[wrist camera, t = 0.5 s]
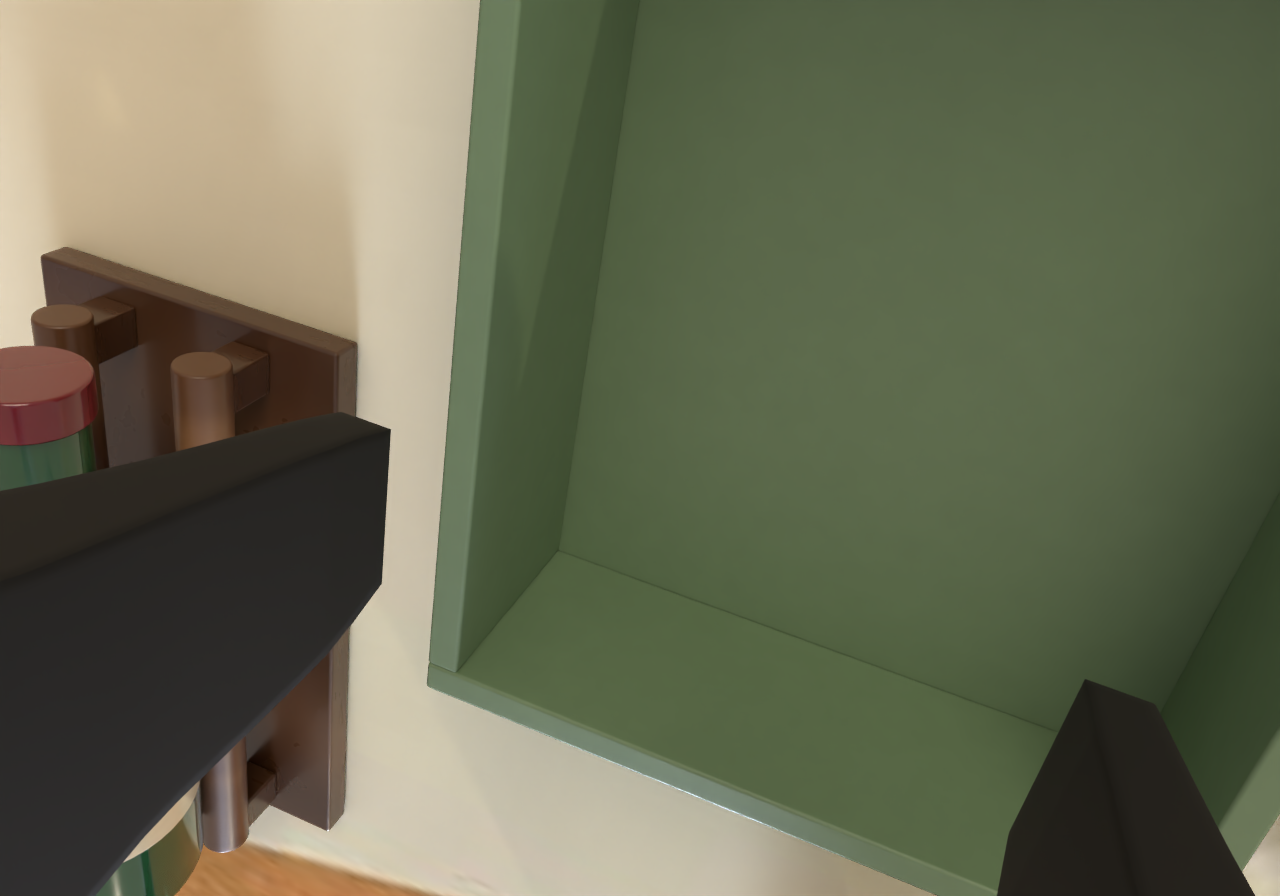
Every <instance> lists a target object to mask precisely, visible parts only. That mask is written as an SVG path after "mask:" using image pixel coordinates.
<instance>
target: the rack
mask: <svg viewBox="0 0 1280 896" xmlns="http://www.w3.org/2000/svg"><path fill="white" fill-rule="evenodd" d="M41 265H42V273H43V281H44V289H45V296H46V304H47V307H43V308H40V309H38V310H36V311H35V312H34V313H33V314H32V316H31V325H32V332H33V339H34V346H45V347H54V348H60V349H64V350H68V351H71V352H74V353H76V354H79V355H81V356H82V357H84V358H85V359H87V360H88V361H89V362H90V363H91V365H92V366H93V368H94V371H95V379H96V389H97V398H98V413H97V415H96V417H95V419H94V420H93V422H92V431H93V440H94V449H95V458H96V467H97V470H101V469H106V468H110V467H115V466H119V465H124V464H128V463H132V462H137V461H141V460H145V459H149V458H153V457H157V456H161V455H165V454H169V453H173V452H177V451H180V450H184V449H188V448H192V447H196V446H200V445H203V444H207V443H211V442H215V441H219V440H223V439H227V438H230V437H234V436H238V435H242V434H246V433H249V432H253V431H257V430H261V429H265V428H269V427H273V426H276V425H281V424H285V423H289V422H293V421H297V420H301V419H306V418H310V417H315V416H320V415H325V414H331V413H337V412H343V413H346V414H349V415H352V416H355V404H356V369H357V344H356V343H355V342H353V341H350V340H347V339H344V338H341V337H338V336H335V335H332V334H329V333H326V332H323V331H320V330H317V329H314V328H311V327H308V326H305V325H302V324H299V323H296V322H293V321H290V320H287V319H284V318H281V317H278V316H275V315H271V314H268V313H265V312H262V311H259V310H256V309H253V308H250V307H247V306H244V305H241V304H238V303H235V302H232V301H229V300H226V299H223V298H220V297H217V296H214V295H211V294H208V293H205V292H202V291H199V290H196V289H193V288H190V287H187V286H184V285H181V284H178V283H175V282H172V281H169V280H166V279H163V278H159V277H156V276H153V275H150V274H147V273H144V272H141V271H138V270H135V269H132V268H129V267H126V266H123V265H120V264H117V263H114V262H111V261H108V260H105V259H102V258H99V257H96V256H93V255H90V254H87V253H84V252H81V251H78V250H75V249H72V248H69V247H64V248H61V249H58V250H55V251H52V252H49V253H46V254H43V255H42V256H41ZM348 649H349V628H348V629H347V630H346V632H345V633H344V634H343V635H342V637H341V638H340V639H339V640H338V642H337V643H336V644H335V645H334V647H333V648H332V649H331V650H330V652H329V653H328V654H327V655H326V656H325V657H324V658H323V659H322V660H321V661H320V662H319V663H318V664H317V665H316V666H315V667H314V669H313V670H312V671H311V672H310V673H309V674H308V675H307V676H306V677H305V678H304V679H303V680H302V681H301V682H300V683H298V684H297V685H296V686H295V687H294V688H293V689H292V690H291V691H290V692H289V693H288V694H287V695H286V696H285V697H284V698H283V699H282V700H281V701H280V702H279V703H278V704H277V705H276V706H275V707H274V708H273V709H272V710H271V711H270V712H269V713H268V714H267V715H266V716H265V717H264V718H263V719H262V720H261V721H260V722H259V723H258V724H257V725H256V726H255V727H254V728H253V729H252V730H251V731H250V732H249V733H248V734H247V735H246V736H245V737H244V738H243V739H241V740H240V741H239V742H238V743H237V744H236V745H235V746H234V747H233V748H232V749H231V750H230V751H229V752H228V753H227V754H226V755H225V756H224V757H223V758H222V759H221V760H220V761H219V762H218V763H217V764H216V765H215V766H214V767H213V768H212V769H211V770H210V771H209V772H208V773H207V774H206V775H205V776H204V777H202V778H201V779H200V780H201V795H202V811H203V826H204V840H203V843H204V845H205V846H206V847H207V848H208V849H210V850H212V851H215V852H229V851H232V850H235V849H237V848H238V847H240V846H241V845H242V844H243V843H244V842H245V841H246V839H247V837H248V835H249V827H250V825H251V824H252V823H253V822H254V821H255V820H256V819H257V818H258V817H259V816H260V815H261V813H262V812H263V811H264V810H265V809H266V808H267V807H268V806H269V805H271V806H273V807H276V808H278V809H280V810H282V811H284V812H287V813H289V814H291V815H293V816H295V817H298V818H300V819H302V820H304V821H306V822H308V823H311V824H313V825H315V826H317V827H319V828H322V829H324V830H326V831H329V830H330V829H331V828H332V827H333V825H334V824H335V823H336V822H337V821H338V819H339V818H340V817H341V816H342V814H343V813H344V789H345V754H346V719H347V684H348Z"/></svg>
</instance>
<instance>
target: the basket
mask: <svg viewBox="0 0 1280 896" xmlns="http://www.w3.org/2000/svg"><path fill="white" fill-rule="evenodd" d="M429 661H430V663H429V666H428V678H427V686H428V687H430V688H432V689H435V690H437V691H439V692H442V693H444V694H447V695H449V696H452V697H454V698H456V699H459V700H461V701H464V702H466V703H469V704H471V705H474V706H476V707H478V708H481V709H483V710H486V711H488V712H491V713H493V714H496V715H498V716H500V717H503V718H505V719H508V720H510V721H513V722H515V723H517V724H520V725H522V726H525V727H527V728H530V729H532V730H535V731H537V732H539V733H542V734H544V735H547V736H549V737H552V738H554V739H557V740H559V741H561V742H564V743H566V744H569V745H571V746H574V747H576V748H579V749H581V750H583V751H586V752H588V753H591V754H593V755H596V756H598V757H600V758H603V759H605V760H608V761H610V762H613V763H615V764H618V765H620V766H622V767H625V768H627V769H630V770H632V771H635V772H637V773H640V774H642V775H644V776H647V777H649V778H652V779H654V780H657V781H659V782H661V783H664V784H666V785H669V786H671V787H674V788H676V789H679V790H681V791H683V792H686V793H688V794H691V795H693V796H696V797H698V798H701V799H703V800H705V801H708V802H710V803H713V804H715V805H718V806H720V807H723V808H725V809H727V810H730V811H732V812H735V813H737V814H740V815H742V816H744V817H747V818H749V819H752V820H754V821H757V822H759V823H762V824H764V825H766V826H769V827H771V828H774V829H776V830H779V831H781V832H784V833H786V834H788V835H791V836H793V837H796V838H798V839H801V840H803V841H806V842H808V843H810V844H813V845H815V846H818V847H820V848H823V849H825V850H827V851H830V852H832V853H835V854H837V855H840V856H842V857H845V858H847V859H849V860H852V861H854V862H857V863H859V864H862V865H864V866H867V867H869V868H871V869H874V870H876V871H879V872H881V873H884V874H886V875H888V876H891V877H893V878H896V879H898V880H901V881H903V882H906V883H908V884H910V885H913V886H915V887H918V888H920V889H923V890H925V891H928V892H930V893H932V894H935V895H937V896H997V892H998V886H999V881H1000V876H1001V871H1002V865H1003V860H1004V855H1005V850H1006V844H1007V839H1008V834H1009V831H1010V829H1011V827H1012V825H1013V823H1014V821H1015V819H1016V817H1017V815H1018V813H1019V811H1020V809H1021V807H1022V805H1023V803H1024V801H1025V799H1026V797H1027V795H1028V793H1029V791H1030V789H1031V787H1032V785H1033V783H1034V781H1035V779H1036V777H1037V775H1038V773H1039V771H1040V769H1041V767H1042V765H1043V763H1044V761H1045V759H1046V757H1047V755H1048V753H1049V751H1050V749H1051V747H1052V744H1053V742H1054V740H1055V738H1056V736H1057V734H1058V732H1059V730H1060V728H1061V726H1062V724H1063V722H1064V720H1065V718H1066V716H1067V714H1068V712H1069V710H1070V708H1071V706H1072V704H1073V702H1074V700H1075V698H1076V696H1077V694H1078V692H1079V690H1080V688H1081V686H1082V684H1083V682H1084V680H1085V679H1087V680H1090V681H1093V682H1095V683H1098V684H1101V685H1104V686H1107V687H1109V688H1112V689H1115V690H1118V691H1120V692H1123V693H1126V694H1129V695H1132V696H1134V697H1137V698H1140V699H1143V700H1145V701H1148V702H1151V703H1154V704H1155V705H1156V707H1157V709H1158V711H1159V712H1160V714H1161V716H1162V718H1163V720H1164V722H1165V724H1166V726H1167V728H1168V730H1169V732H1170V734H1171V736H1172V738H1173V740H1174V742H1175V744H1176V746H1177V748H1178V750H1179V752H1180V754H1181V756H1182V758H1183V760H1184V762H1185V764H1186V766H1187V768H1188V770H1189V772H1190V774H1191V776H1192V778H1193V780H1194V782H1195V784H1196V786H1197V788H1198V790H1199V792H1200V793H1201V795H1202V797H1203V799H1204V801H1205V803H1206V805H1207V807H1208V809H1209V811H1210V813H1211V815H1212V817H1213V819H1214V821H1215V823H1216V825H1217V827H1218V828H1219V830H1220V832H1221V834H1222V836H1223V838H1224V840H1225V842H1226V844H1227V846H1228V847H1229V849H1230V851H1231V853H1232V855H1233V857H1234V859H1235V860H1236V862H1237V864H1238V866H1239V868H1240V869H1241V871H1243V869H1244V868H1245V866H1246V864H1247V863H1248V861H1249V860H1250V858H1251V857H1252V855H1253V854H1254V852H1255V851H1256V849H1257V848H1258V846H1259V845H1260V843H1261V842H1262V840H1263V839H1264V837H1265V836H1266V834H1267V832H1268V831H1269V829H1270V828H1271V826H1272V825H1273V823H1274V822H1275V820H1276V819H1277V817H1278V816H1279V814H1280V0H480V9H479V21H478V34H477V47H476V60H475V73H474V86H473V99H472V112H471V124H470V137H469V150H468V163H467V176H466V189H465V202H464V215H463V227H462V240H461V253H460V266H459V279H458V292H457V305H456V318H455V330H454V343H453V356H452V369H451V382H450V395H449V408H448V421H447V433H446V446H445V459H444V472H443V485H442V498H441V511H440V524H439V537H438V549H437V562H436V575H435V588H434V601H433V614H432V627H431V640H430V652H429Z"/></svg>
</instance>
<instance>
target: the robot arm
mask: <svg viewBox="0 0 1280 896" xmlns="http://www.w3.org/2000/svg"><path fill="white" fill-rule="evenodd" d="M390 433H391V429H388V428H385V427H382V426H380V425H377V424H374V423H371V422H368V421H366V420H363V419H360V418H357V417H355V416H352V415H349V414H346V413H343V412H337V413H331V414H325V415H320V416H315V417H310V418H306V419H301V420H297V421H293V422H289V423H285V424H281V425H276V426H273V427H269V428H265V429H261V430H257V431H253V432H249V433H246V434H242V435H238V436H234V437H230V438H227V439H223V440H219V441H215V442H211V443H207V444H203V445H200V446H196V447H192V448H188V449H184V450H180V451H177V452H173V453H169V454H165V455H161V456H157V457H153V458H149V459H145V460H141V461H137V462H132V463H128V464H124V465H119V466H115V467H110V468H106V469H101V470H97V471H92V472H88V473H84V474H79V475H75V476H70V477H66V478H61V479H57V480H52V481H48V482H43V483H39V484H34V485H29V486H24V487H18V488H13V489H8V490H2V491H0V896H95V895H96V894H97V893H98V892H99V891H100V889H101V888H102V887H103V886H104V885H105V883H106V882H107V881H108V880H109V879H110V877H111V876H112V875H113V874H114V873H115V871H116V870H117V869H118V868H119V867H120V866H121V864H122V863H123V862H124V861H125V860H126V858H127V857H128V856H129V855H130V854H131V852H132V851H133V850H134V849H135V848H136V846H137V845H138V844H139V843H140V842H141V840H142V839H143V838H144V837H145V836H146V835H147V834H148V833H149V832H150V831H151V829H152V828H153V827H154V826H155V825H156V824H157V823H158V822H159V821H160V820H161V819H162V818H163V817H164V816H165V815H166V814H167V813H168V811H169V810H170V809H171V808H172V807H173V806H174V805H175V804H176V803H177V802H178V801H179V800H180V799H181V798H182V797H183V796H184V795H185V794H186V793H187V792H188V791H189V790H190V789H191V788H192V787H193V786H194V785H195V784H196V783H197V782H198V781H199V780H200V779H201V778H202V777H204V776H205V775H206V774H207V773H208V772H209V771H210V770H211V769H212V768H213V767H214V766H215V765H216V764H217V763H218V762H219V761H220V760H221V759H222V758H223V757H224V756H225V755H226V754H227V753H228V752H229V751H230V750H231V749H232V748H233V747H234V746H235V745H236V744H237V743H238V742H239V741H240V740H241V739H243V738H244V737H245V736H246V735H247V734H248V733H249V732H250V731H251V730H252V729H253V728H254V727H255V726H256V725H257V724H258V723H259V722H260V721H261V720H262V719H263V718H264V717H265V716H266V715H267V714H268V713H269V712H270V711H271V710H272V709H273V708H274V707H275V706H276V705H277V704H278V703H279V702H280V701H281V700H282V699H283V698H284V697H285V696H286V695H287V694H288V693H289V692H290V691H291V690H292V689H293V688H294V687H295V686H296V685H297V684H298V683H300V682H301V681H302V680H303V679H304V678H305V677H306V676H307V675H308V674H309V673H310V672H311V671H312V670H313V669H314V667H315V666H316V665H317V664H318V663H319V662H320V661H321V660H322V659H323V658H324V657H325V656H326V655H327V654H328V653H329V652H330V650H331V649H332V648H333V647H334V645H335V644H336V643H337V642H338V640H339V639H340V638H341V637H342V635H343V634H344V633H345V632H346V630H347V629H348V628H349V627H350V625H351V624H352V623H353V622H354V620H355V619H356V617H357V616H358V615H359V613H360V612H361V611H362V609H363V608H364V607H365V605H366V604H367V603H368V601H369V600H370V599H371V597H372V596H373V594H374V593H375V592H376V590H377V589H378V588H379V586H380V585H381V584H382V568H383V551H384V535H385V518H386V501H387V484H388V467H389V450H390ZM997 896H1255V895H1254V893H1253V891H1252V889H1251V887H1250V886H1249V884H1248V882H1247V880H1246V878H1245V877H1244V875H1243V873H1242V871H1241V869H1240V868H1239V866H1238V864H1237V862H1236V860H1235V859H1234V857H1233V855H1232V853H1231V851H1230V849H1229V847H1228V846H1227V844H1226V842H1225V840H1224V838H1223V836H1222V834H1221V832H1220V830H1219V828H1218V827H1217V825H1216V823H1215V821H1214V819H1213V817H1212V815H1211V813H1210V811H1209V809H1208V807H1207V805H1206V803H1205V801H1204V799H1203V797H1202V795H1201V793H1200V792H1199V790H1198V788H1197V786H1196V784H1195V782H1194V780H1193V778H1192V776H1191V774H1190V772H1189V770H1188V768H1187V766H1186V764H1185V762H1184V760H1183V758H1182V756H1181V754H1180V752H1179V750H1178V748H1177V746H1176V744H1175V742H1174V740H1173V738H1172V736H1171V734H1170V732H1169V730H1168V728H1167V726H1166V724H1165V722H1164V720H1163V718H1162V716H1161V714H1160V712H1159V711H1158V709H1157V707H1156V705H1155V704H1154V703H1151V702H1148V701H1145V700H1143V699H1140V698H1137V697H1134V696H1132V695H1129V694H1126V693H1123V692H1120V691H1118V690H1115V689H1112V688H1109V687H1107V686H1104V685H1101V684H1098V683H1095V682H1093V681H1090V680H1087V679H1085V680H1084V682H1083V684H1082V686H1081V688H1080V690H1079V692H1078V694H1077V696H1076V698H1075V700H1074V702H1073V704H1072V706H1071V708H1070V710H1069V712H1068V714H1067V716H1066V718H1065V720H1064V722H1063V724H1062V726H1061V728H1060V730H1059V732H1058V734H1057V736H1056V738H1055V740H1054V742H1053V744H1052V747H1051V749H1050V751H1049V753H1048V755H1047V757H1046V759H1045V761H1044V763H1043V765H1042V767H1041V769H1040V771H1039V773H1038V775H1037V777H1036V779H1035V781H1034V783H1033V785H1032V787H1031V789H1030V791H1029V793H1028V795H1027V797H1026V799H1025V801H1024V803H1023V805H1022V807H1021V809H1020V811H1019V813H1018V815H1017V817H1016V819H1015V821H1014V823H1013V825H1012V827H1011V829H1010V831H1009V834H1008V839H1007V844H1006V850H1005V855H1004V860H1003V865H1002V871H1001V876H1000V881H999V886H998V892H997Z"/></svg>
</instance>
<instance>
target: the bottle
mask: <svg viewBox="0 0 1280 896" xmlns="http://www.w3.org/2000/svg"><path fill="white" fill-rule="evenodd" d="M97 413H98V398H97V389H96V379H95V371H94V368H93V366H92V365H91V363H90V362H89V361H88V360H87V359H85V358H84V357H82V356H81V355H79V354H76V353H74V352H71V351H68V350H64V349H60V348H54V347H45V346H18V347H8V348H2V349H0V491H2V490H8V489H13V488H18V487H24V486H29V485H34V484H39V483H43V482H48V481H52V480H57V479H61V478H66V477H70V476H75V475H79V474H84V473H88V472H92V471H97V467H96V458H95V449H94V440H93V431H92V422H93V420H94V419H95V417H96V415H97ZM203 840H204V826H203V811H202V795H201V780H199V781H198V782H197V783H196V784H195V785H194V786H193V787H192V788H191V789H190V790H189V791H188V792H187V793H186V794H185V795H184V796H183V797H182V798H181V799H180V800H179V801H178V802H177V803H176V804H175V805H174V806H173V807H172V808H171V809H170V810H169V811H168V813H167V814H166V815H165V816H164V817H163V818H162V819H161V820H160V821H159V822H158V823H157V824H156V825H155V826H154V827H153V828H152V829H151V831H150V832H149V833H148V834H147V835H146V836H145V837H144V838H143V839H142V840H141V842H140V843H139V844H138V845H137V846H136V848H135V849H134V850H133V851H132V852H131V854H130V855H129V856H128V857H127V858H126V860H125V861H124V862H123V863H122V864H121V866H120V867H119V868H118V869H117V870H116V871H115V873H114V874H113V875H112V876H111V877H110V879H109V880H108V881H107V882H106V883H105V885H104V886H103V887H102V888H101V889H100V891H99V892H98V893H97V894H96V895H95V896H174V895H175V894H176V893H177V892H178V891H179V890H180V889H181V888H182V886H183V885H184V884H185V883H186V881H187V880H188V878H189V877H190V875H191V873H192V872H193V870H194V868H195V866H196V864H197V862H198V860H199V857H200V854H201V851H202V847H203Z"/></svg>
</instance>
